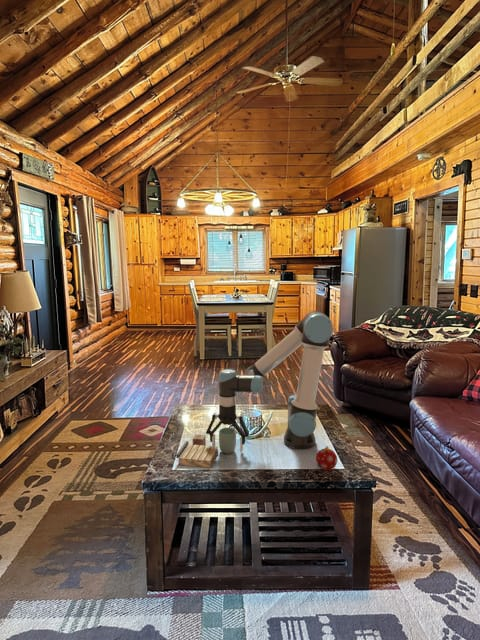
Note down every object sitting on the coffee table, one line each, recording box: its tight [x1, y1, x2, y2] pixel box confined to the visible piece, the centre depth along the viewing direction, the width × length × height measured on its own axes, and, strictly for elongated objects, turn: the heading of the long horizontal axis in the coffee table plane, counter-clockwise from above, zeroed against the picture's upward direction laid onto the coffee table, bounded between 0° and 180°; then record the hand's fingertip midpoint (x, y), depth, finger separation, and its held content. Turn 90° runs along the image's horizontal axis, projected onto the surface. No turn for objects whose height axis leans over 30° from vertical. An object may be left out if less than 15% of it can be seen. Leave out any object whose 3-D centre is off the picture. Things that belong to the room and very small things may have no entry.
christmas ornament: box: [315, 445, 338, 471], centre depth 171 cm, size 9×9×10 cm
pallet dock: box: [175, 440, 219, 468], centre depth 180 cm, size 15×14×4 cm
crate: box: [192, 433, 207, 446], centre depth 192 cm, size 5×5×5 cm
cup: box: [218, 427, 237, 454], centre depth 187 cm, size 8×8×10 cm
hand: (227, 449), depth 187 cm, fingers open, 12 cm apart
